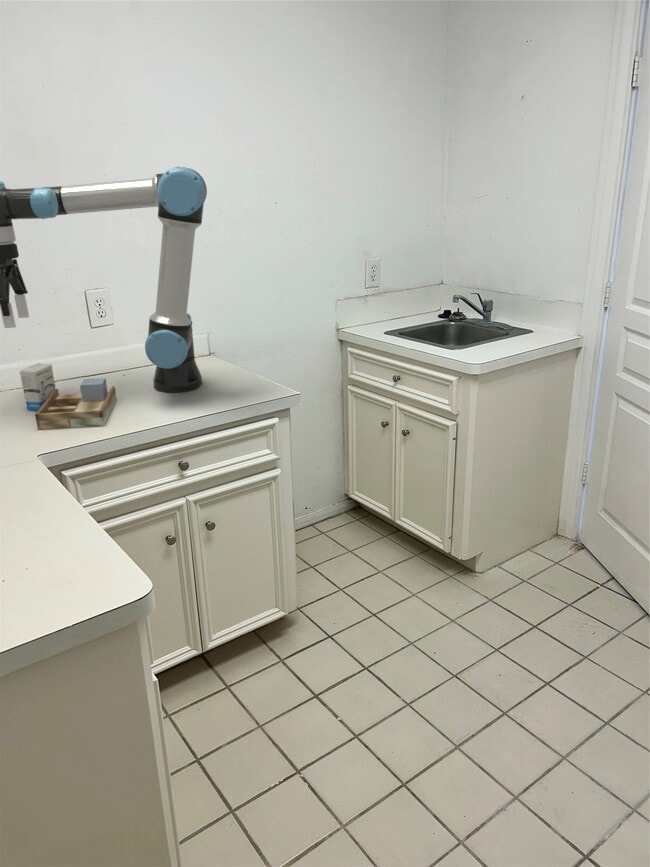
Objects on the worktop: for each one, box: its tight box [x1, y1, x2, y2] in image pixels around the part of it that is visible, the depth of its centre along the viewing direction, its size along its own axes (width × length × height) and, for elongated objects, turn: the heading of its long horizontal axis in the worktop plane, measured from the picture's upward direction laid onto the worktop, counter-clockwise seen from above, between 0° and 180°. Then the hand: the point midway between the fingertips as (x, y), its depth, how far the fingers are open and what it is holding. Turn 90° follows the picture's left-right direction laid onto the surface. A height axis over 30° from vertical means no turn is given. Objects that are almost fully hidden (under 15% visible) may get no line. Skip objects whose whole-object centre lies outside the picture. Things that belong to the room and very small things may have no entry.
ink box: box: [19, 363, 57, 412], centre depth 185 cm, size 9×5×12 cm, turn 168°
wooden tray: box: [34, 385, 117, 430], centre depth 180 cm, size 17×22×4 cm
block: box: [79, 377, 109, 402], centre depth 185 cm, size 6×6×5 cm
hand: (17, 322), depth 179 cm, fingers open, 13 cm apart
